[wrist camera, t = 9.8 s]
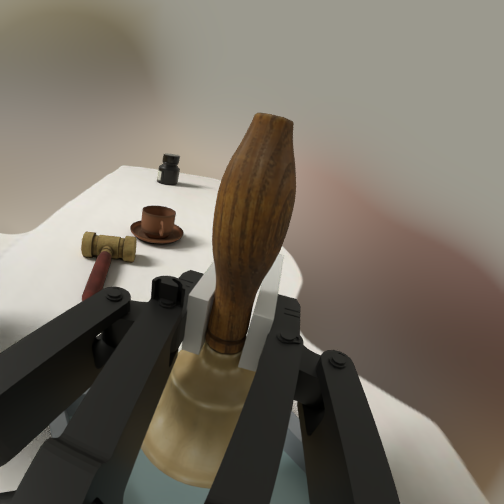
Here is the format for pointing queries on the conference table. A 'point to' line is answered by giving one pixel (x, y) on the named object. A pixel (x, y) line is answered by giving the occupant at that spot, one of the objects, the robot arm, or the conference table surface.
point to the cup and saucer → (157, 225)
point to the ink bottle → (169, 170)
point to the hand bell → (227, 307)
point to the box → (192, 498)
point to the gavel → (104, 257)
